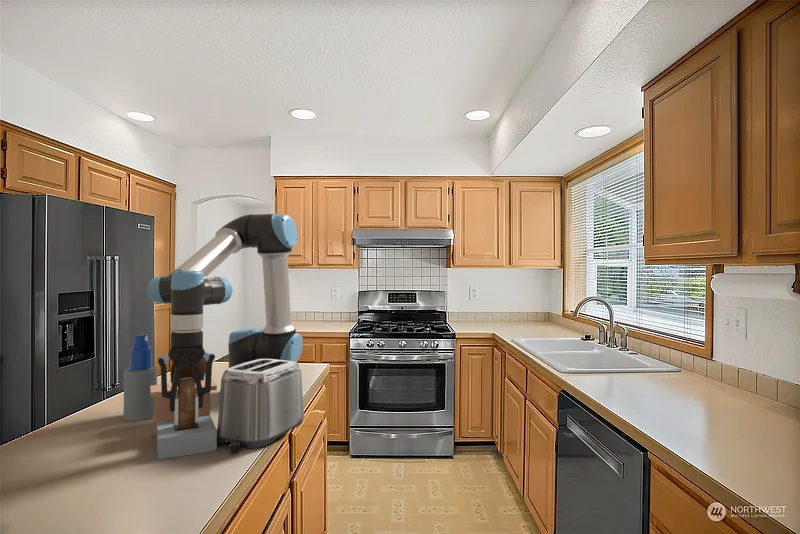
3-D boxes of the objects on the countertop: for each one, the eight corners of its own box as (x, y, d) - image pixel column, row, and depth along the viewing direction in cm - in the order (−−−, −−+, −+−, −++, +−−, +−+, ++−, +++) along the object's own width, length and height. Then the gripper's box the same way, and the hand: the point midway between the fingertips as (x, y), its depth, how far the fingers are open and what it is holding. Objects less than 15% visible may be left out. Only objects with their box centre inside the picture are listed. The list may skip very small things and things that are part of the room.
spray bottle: (163, 412, 147) (164, 332, 147) (142, 421, 138) (143, 337, 138) (138, 410, 148) (139, 331, 149) (116, 419, 140) (117, 335, 140)
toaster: (314, 421, 140) (314, 357, 140) (251, 459, 112) (252, 379, 112) (266, 415, 145) (267, 353, 145) (195, 449, 117) (196, 373, 117)
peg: (193, 434, 122) (194, 376, 122) (195, 439, 119) (195, 380, 119) (177, 436, 120) (177, 378, 120) (178, 442, 117) (178, 381, 117)
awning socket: (212, 424, 136) (212, 379, 136) (222, 449, 118) (223, 396, 118) (150, 433, 128) (150, 385, 128) (150, 461, 110) (151, 404, 110)
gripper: (220, 327, 127) (219, 413, 127) (149, 330, 119) (148, 422, 119) (224, 330, 120) (223, 421, 120) (149, 334, 112) (148, 432, 112)
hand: (186, 421), depth 120 cm, fingers closed on peg, 4 cm apart
